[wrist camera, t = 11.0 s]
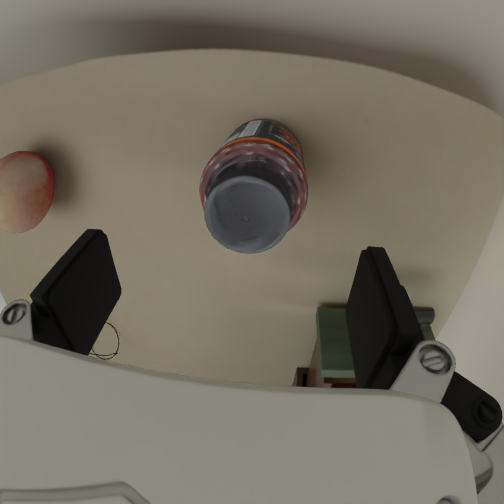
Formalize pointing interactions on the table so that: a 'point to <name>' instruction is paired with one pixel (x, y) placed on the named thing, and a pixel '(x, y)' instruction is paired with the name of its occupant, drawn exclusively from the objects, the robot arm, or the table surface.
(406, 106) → the table surface
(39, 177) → the fruit
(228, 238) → the supplement bottle
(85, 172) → the table surface
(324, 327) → the drawer
